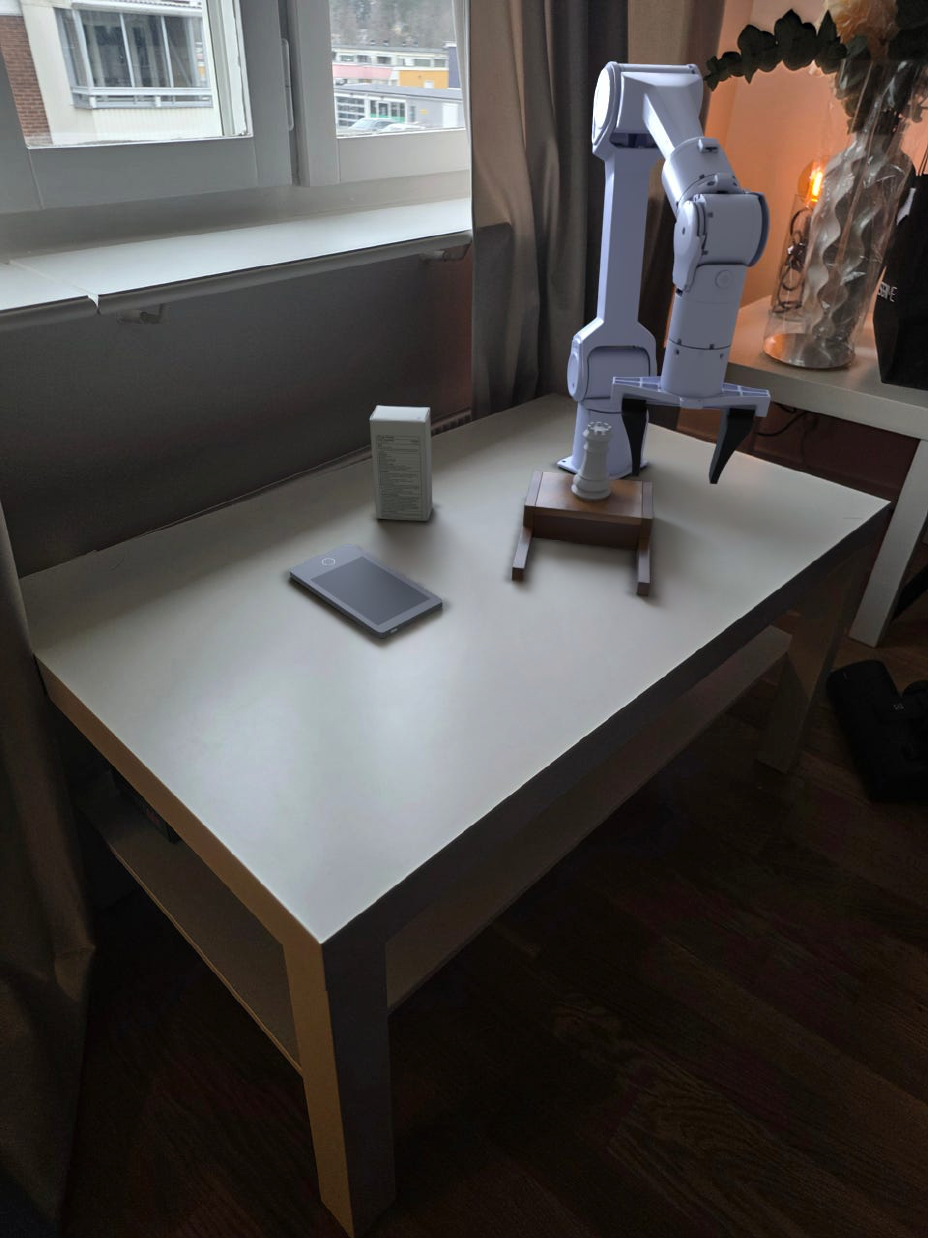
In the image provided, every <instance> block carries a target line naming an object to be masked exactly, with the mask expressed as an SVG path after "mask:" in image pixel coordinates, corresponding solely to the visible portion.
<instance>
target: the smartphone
mask: <svg viewBox="0 0 928 1238" xmlns="http://www.w3.org/2000/svg"><path fill="white" fill-rule="evenodd" d="M289 577H290V579H293V580H294V581H295V582H297V583H298V584H300V585H301V586H303V587H304V588H306V589H307V590H308V591H310V592H311V593H313V594H315V595H316V596H317V597H318V598H320V599H321V600H323V601H324V602H325V603H327V604H329V605H330V606H332V607H333V608H335V609H336V610H337V611H339V612H340V613H342V614H343V615H345V616H346V617H347V618H349V619H351V620H352V621H353V622H355V623H356V624H357V625H359V626H360V627H361V628H363V629H364V630H366V631H368V632H369V633H371V634H372V635H373V636H374V637H376V638H379V639H385V638H387V637H389V636H391V635H393V634H395V633H396V632H398V631H400V630H402V629H404V628H406V627H408V626H410V625H412V624H413V623H416V622H418V621H419V620H421V619H423V618H425V617H427V616H429V615H431V614H433V613H434V612H437V611H438V610H440V609H442V608H443V599H442V598H441V597H440V596H438V595H436V594H435V593H433V592H431V591H430V590H428V589H427V588H425V587H424V586H422V585H420V584H419V583H416V581H414V580H413V579H410V578H409V577H407V576H405V575H403V574H402V573H400V572H399V571H397V570H396V569H394V568H392V567H390V566H389V565H387V564H386V563H384V562H382V561H381V560H379V559H378V558H376V557H374V556H372V555H371V554H369V553H368V552H365V551H364V550H362V549H361V548H359V547H357V546H356V545H354V544H352V543H347V544H344V545H342V546H339V547H337V548H335V549H332V550H330V551H328V552H326V553H323V554H321V555H318V556H316V557H313V558H312V559H309V560H307V561H304V562H301V563H299V564H297V565H295V566H292V567H290V568H289Z"/></svg>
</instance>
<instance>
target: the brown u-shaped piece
mask: <svg viewBox="0 0 928 1238" xmlns="http://www.w3.org/2000/svg"><path fill="white" fill-rule="evenodd" d="M575 475H576V474H570V473H561V472H551V471H541V470H532V474H531V476H530V477H531V478H530V481H529V484H528V489H527V493H526V496H525V501H524V505H523V517H522V526H521V531H520V535H519V538H518V543H517V547H516V551H515V555H514V559H513V564H512V568H511V580H516V581H524V577H525V573H526V568H527V564H528V559H529V555H530V550H531V545H532V543H533V539H539V540H547V541H548V540H549V541H558V542H566V543H575V544H584V545H592V546H601V547H611V548H619V549H621V548H622V549H626V550H627V549H629V550H636V566H635V567H636V568H635V569H636V571H635V573H636V577H635V594H636V595H641V596H642V595H643V596H648V595H649V592H650V586H651V542H650V540H651V535H652V529H653V524H654V483H653V482H649V481H640V480H631V479H621V478H619V479H611V478H610V479H611V486H610V487H609V488H610V489H611V493H610V494H609V495H608V496H607V497H606V498H605V499H603V500H601V501H587V500H583V499H580V498H578V497H577V496H576V495H575V494H574V493H573V491H572V485H573V484H574V483H573V478H574V476H575Z"/></svg>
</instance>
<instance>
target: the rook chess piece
mask: <svg viewBox="0 0 928 1238" xmlns="http://www.w3.org/2000/svg"><path fill="white" fill-rule="evenodd" d="M583 435H584V437H585V438H586V440H587V442H586V444H585V445H584V449H585V455H584V459H583V463H582V466H581V468H580V469H579V470H578V473H577V474H576V473H575V474H574V475H575V476H574V478H573V483H574V484H573V485H572V491H573V493H574V494H575V495H576V496H577V497H578V498H580V499H583V500H587V501H601V500H603V499H605V498H606V497H607V496H608V495H609V494H610V493H611V489H610V488H609V487H610V486H611V479H610V478H609V477H608V476H609V473H608V472H607V468H606V458H607V452H608V451H609V446H608V442H609V441H610V440H611V439H612V438H613V434H612V432H611V426H609V424H607V423H605V424H604V427H603V426H601V422H597V425H596V426H594V423H593V422H592V423H590V424H589V425H588V427H587V430H585V431H584V432H583Z"/></svg>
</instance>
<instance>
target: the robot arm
mask: <svg viewBox="0 0 928 1238" xmlns="http://www.w3.org/2000/svg"><path fill="white" fill-rule="evenodd" d="M596 83H597V84H596V87H595V92H594V97H593V115H592V132H591V142H592V155H594V156H596V157H598V158H599V159H601V160H602V161H603V162H604V164H605V165H604V169H605V170H604V171H605V187H604V204H603V219H602V235H601V250H600V263H599V264H600V265H599V278H598V280H599V281H598V293H597V294H598V295H597V297H598V298H597V309H596V310H597V311H596V317H595V318H594V319H593V320H592V321H591V322H589V323H588V324H587V325H585V326H584V327H582V329H580V330H579V331H578V332H577V333H576V334H574V336H573V339H572V340H571V350H570V355H569V357H568V358H569V359H568V363H567V372H566V373H567V374H566V375H567V376H566V377H567V388H568V393H569V395H570V396H571V397H572V399H573V401H575V402H578V403H577V411H576V419H575V429H574V436H573V437H574V438H573V446H572V454H571V455H570V456H568V457H566V458H564V459H561V460H559V461H557V466H558V467H560V468H561V469H564V470H567V471H569V472H572V473H574V474H575V475H576V474H577V473H578V470H579V469H580V468H581V466H582V463H583V459H584V455H585V449H584V445H585V444H586V442H587V440H586V438H585V437H584V435H583V432H584V431H585V430H587V427H588V425H589V424H590V423H592V422H593V423H594V426H596V425H597V422H601V426H603V427H604V424H605V423H607V424H609V426H611V432H612V434H613V438H612V439H611V440H610V441H609V442H608V446H609V451H608V452H607V458H606V468H607V472H608V473H609V476H608V477H609V478H611V479H621V478H623V477H626V476H627V475H629V474H631V476H632V477H640V471H641V468H642V469H643V468H644V467H645V466H647V465H648V460H647V459H644V458H643V456H644V451H645V445H646V439H647V432H648V426H649V420H650V415H649V410H648V405H657V406H658V405H659V406H668V407H669V406H671V407H679V408H681V409H688V410H714V411H721V415H720V416H721V418H720V423H719V428H718V434H717V440H716V444H715V448H714V451H713V455H712V458H711V461H710V465H709V471H708V480H709V484H710V485H718V482H719V480H720V477H721V475H722V473H723V471H724V469H725V467H726V466H727V463H728V462H729V460H730V459H731V457H732V456H733V454H734V453H735V452H736V450H737V449H738V447H739V446H740V445H741V444H742V442H744V441H745V439H746V438H747V437H748V436H750V434H751V432H752V431H753V430H754V429H753V428H754V427H755V423H756V422H755V418H754V417H755V416H756V417H760V418H761V417H762V418H766V417H767V415H768V411H769V407H770V404H771V400H772V396H771V394H770V391H769V390H768V389H760V388H753V387H748V386H744V385H738V384H734V383H728V382H725V377H726V372H727V367H728V362H729V358H730V355H731V354H730V353H731V349H732V344H733V341H734V335H735V332H736V331H735V330H736V325H737V322H738V321H737V320H738V317H739V312H740V307H741V302H742V298H743V294H744V293H743V292H744V289H745V283H746V279H747V278H746V277H747V275H748V268H752V267H754V266H756V265H757V264H758V263H759V261H760V260H761V258H762V257H763V255H764V252H765V250H766V248H767V243H768V240H769V235H770V228H771V214H770V213H771V212H770V207H769V203H768V201H767V197H766V195H765V194H764V193H763V192H762V191H752V190H751V189H747V188H745V189H744V188H742V186H741V183H740V181H739V180H738V178H737V176H736V173H735V172H734V169H733V167H732V165H731V162H730V160H729V159H728V156H727V154H726V152H725V150H724V148H723V146H722V145H721V144H720V143H719V140H718V138H717V137H708V136H705V135H704V132H703V128H702V124H701V121H700V118H699V117H700V113H701V110H702V106H703V99H704V98H703V97H704V80H703V75H702V73H701V72H700V69H699V67H698V65H696V64H695V63H688V64H686V65H680V64H650V63H649V64H645V63H644V64H643V63H618V62H617V61H609V62H607V64H605V66H604V67H603V69H601V71H600V73H599V76H598V80H597V82H596ZM663 159H664V160H665V161H664V164H663V166H662V171H661V184H662V186H663V188H664V191H665V194H666V197H667V199H668V202H669V204H670V207H671V209H672V212H673V214H674V217H675V219H676V223H675V224H674V230H673V253H674V259H673V261H674V263H673V270H672V283H673V284H674V285H676V287H675V292H674V299H673V305H672V310H671V316H670V323H669V328H668V335H667V341H666V346H665V347H666V348H665V352H664V357H663V358H664V359H663V365H662V370H661V375H660V376H658V364H657V359H656V357H657V356H656V355H657V353H656V351H657V349H656V348H657V342H656V338H655V336H654V335H653V334H652V333H651V332H650V331H649V330H648V329H647V328H646V327H644V325H642V324H641V323H640V322H639V321H638V320H639V319H638V318H639V309H640V296H641V285H642V273H643V263H644V260H643V259H644V250H645V238H646V226H647V225H646V224H647V216H648V215H647V214H648V204H649V192H650V191H649V190H650V181H651V180H650V178H651V172H652V170H653V169H654V167H655V165H656V164H657V162H659V161H661V160H663ZM621 346H622V347H621ZM625 346H626V347H625ZM628 346H633V347H628Z"/></svg>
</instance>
